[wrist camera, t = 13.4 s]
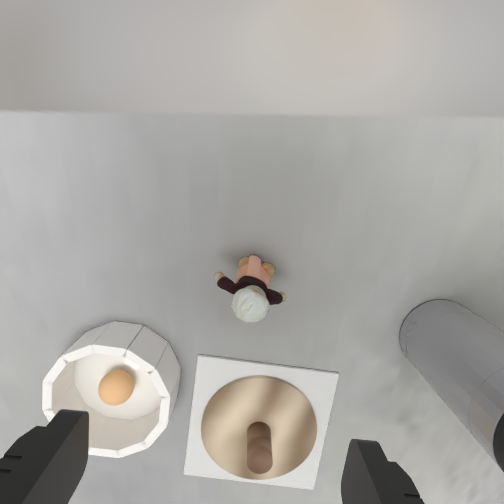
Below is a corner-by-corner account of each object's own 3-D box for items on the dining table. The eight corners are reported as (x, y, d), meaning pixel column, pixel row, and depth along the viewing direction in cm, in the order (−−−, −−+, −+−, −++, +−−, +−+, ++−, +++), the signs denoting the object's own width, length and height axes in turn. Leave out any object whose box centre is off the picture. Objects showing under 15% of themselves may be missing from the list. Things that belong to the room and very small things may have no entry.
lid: (325, 383, 44) (336, 415, 39) (304, 479, 48) (312, 522, 42) (208, 368, 44) (202, 397, 38) (196, 466, 47) (188, 507, 41)
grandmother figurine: (285, 257, 41) (299, 293, 29) (280, 288, 42) (292, 336, 30) (220, 249, 41) (207, 282, 29) (217, 280, 42) (203, 325, 29)
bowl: (185, 330, 43) (174, 355, 37) (174, 426, 46) (163, 463, 40) (71, 315, 43) (43, 337, 37) (68, 413, 46) (41, 448, 40)
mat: (338, 372, 45) (339, 374, 44) (312, 487, 49) (313, 489, 48) (198, 354, 44) (198, 355, 44) (184, 471, 48) (183, 474, 48)
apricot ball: (139, 365, 43) (128, 384, 39) (137, 393, 44) (126, 415, 40) (107, 361, 43) (92, 380, 39) (105, 389, 44) (91, 410, 40)
